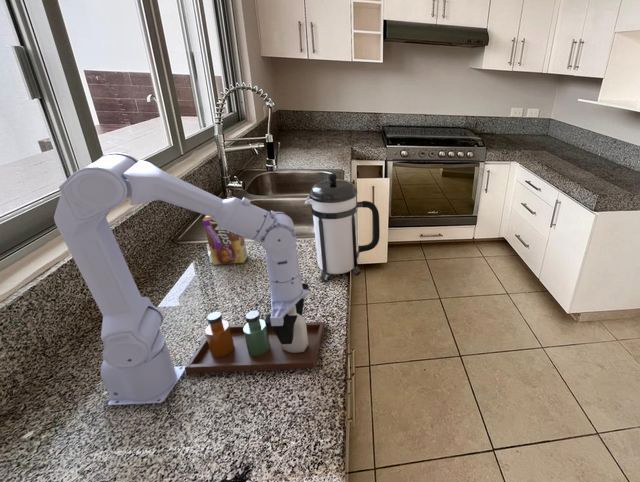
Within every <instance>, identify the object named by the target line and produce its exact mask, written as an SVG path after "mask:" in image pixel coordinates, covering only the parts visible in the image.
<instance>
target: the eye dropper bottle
mask: <svg viewBox="0 0 640 482" xmlns="http://www.w3.org/2000/svg"><path fill="white" fill-rule="evenodd" d="M287 314H289V316H293V315H298V316H297V319H296V321H295V324H294V333H293V341H292V344H281V347H282V349H284V350H285V351H288V352H292V353H300V352H304V351H305V350H306V348H307V347H308V336H307V328H306V323H307V322H306V319H305V317H304V316H303V315H302V316H301V315H300V314H298V313H296V306H295V305H294V306H293V307H292V308H291V309H290V310H289V311H288V313H287Z"/></svg>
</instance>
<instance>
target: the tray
mask: <svg viewBox="0 0 640 482" xmlns="http://www.w3.org/2000/svg"><path fill="white" fill-rule="evenodd" d="M229 325H230V329H231V334H232V338H233V342H234V349H233V350H232V352H231V353H229V354H228V355H226V356H224V357H220V358H215V357H213V356H211V353H210V349H209V346H208V342H207V338H206V336H205V337H204V339H203V340H202V341H201V343H200V344H199V346H198V347H197V349H196V350H195V352H194V353H193V354H192V356H191V357H190V359H189V361H188V362H187V363H186V364H185V365H184V366H185V373H186V374H207V373H208V374H209V373H210V374H211V373H232V372H233V373H234V372H256V371H258V372H260V371H281V370H307V369H315V367H316V364H317V359H318V355H319V351H320V349H321V345H322V339H323V336H324V333H325V328H326V326H325V322H324V321H322V322H321V321H320V322H319V321H318V322H306V328H307V336H308V347H307V348H306V350H305V351H304V352H300V353H292V352H288V351H285V350H284V349H282V347H281V343H280V341H279V339H278V337H277V336H276V334H275V333H274V331H273V330H271V329H270V328H269V327H267V330H268V336H269V341H270V348H269V350H268V351H267V352H266V353H264V354H262V355H260V356H251V355H249V354H248V351H247V346H246V342H245V337H244V332H243V327H244V326H245V325H246V324H229Z"/></svg>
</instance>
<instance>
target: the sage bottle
mask: <svg viewBox="0 0 640 482" xmlns="http://www.w3.org/2000/svg"><path fill="white" fill-rule="evenodd" d="M245 321H246V323H245V324H244V325H245V326H244V327H243V332H244V337H245V342H246V346H247V351H248V354H249V355H251V356H260V355H262V354H264V353H266V352H267V351H268V350H269V348H270V341H269V336H268V330H267V326H266V324H265V319H263V318H261V313H260V311H259V310H251V311H248V312H247V313H246V314H245Z"/></svg>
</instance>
